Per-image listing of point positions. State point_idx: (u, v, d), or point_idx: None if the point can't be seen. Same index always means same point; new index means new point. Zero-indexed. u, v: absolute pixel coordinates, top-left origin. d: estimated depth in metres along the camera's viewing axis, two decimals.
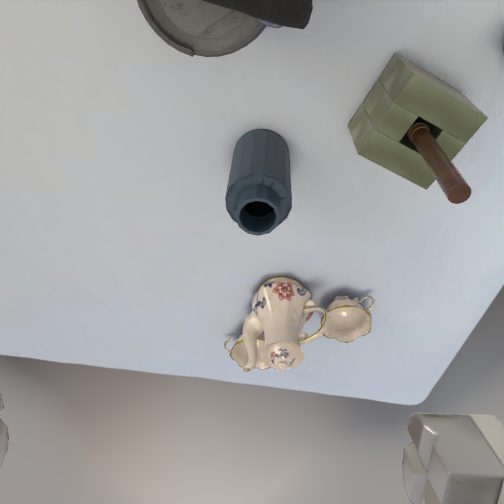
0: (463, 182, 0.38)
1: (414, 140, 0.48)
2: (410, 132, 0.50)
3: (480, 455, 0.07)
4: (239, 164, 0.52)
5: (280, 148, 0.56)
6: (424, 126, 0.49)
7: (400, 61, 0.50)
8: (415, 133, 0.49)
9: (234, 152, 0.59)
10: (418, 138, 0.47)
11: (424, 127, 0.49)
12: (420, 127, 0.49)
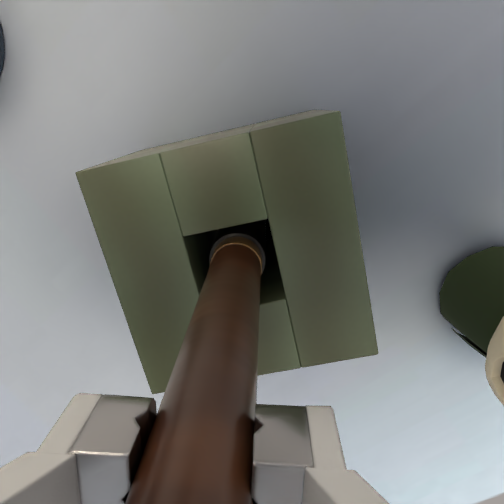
0: None
1: (216, 260, 0.16)
2: (223, 241, 0.18)
3: (294, 445, 0.07)
4: None
5: None
6: (259, 255, 0.18)
7: (317, 110, 0.21)
8: (231, 248, 0.17)
9: None
10: (227, 261, 0.15)
11: (258, 257, 0.18)
12: (251, 248, 0.17)
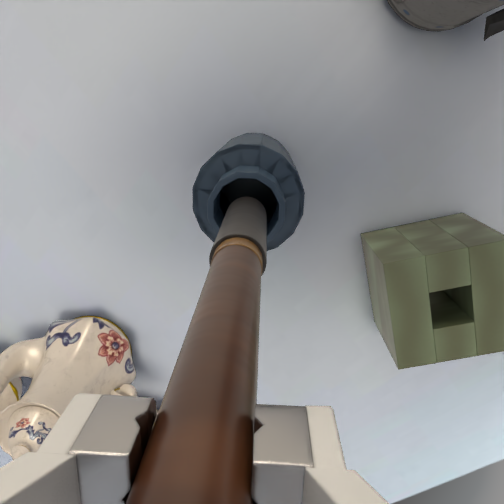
0: None
1: (216, 261, 0.16)
2: (224, 242, 0.18)
3: (294, 445, 0.07)
4: (260, 140, 0.32)
5: None
6: (260, 256, 0.18)
7: (476, 221, 0.40)
8: (231, 249, 0.17)
9: (237, 137, 0.39)
10: (228, 262, 0.15)
11: (259, 258, 0.18)
12: (252, 249, 0.17)
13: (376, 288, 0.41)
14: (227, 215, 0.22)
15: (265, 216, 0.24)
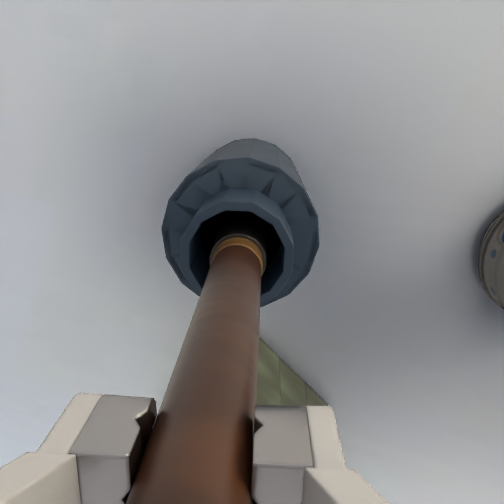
0: None
1: (216, 261, 0.16)
2: (224, 242, 0.18)
3: (294, 445, 0.07)
4: None
5: None
6: (260, 256, 0.18)
7: None
8: (231, 249, 0.17)
9: (282, 153, 0.31)
10: (228, 262, 0.15)
11: (259, 258, 0.18)
12: (252, 249, 0.17)
13: None
14: (227, 215, 0.22)
15: None
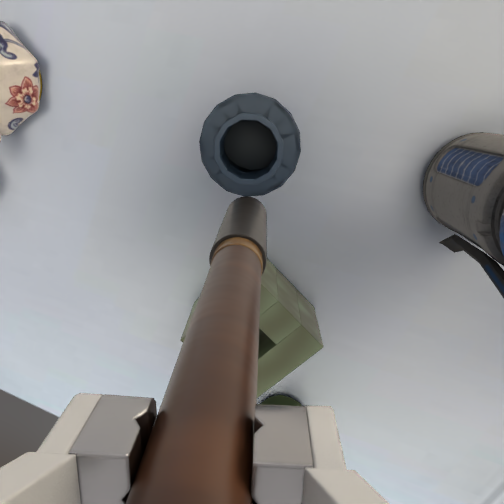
0: None
1: (216, 260, 0.16)
2: (224, 242, 0.18)
3: (294, 445, 0.07)
4: None
5: None
6: (260, 256, 0.18)
7: (316, 319, 0.48)
8: (231, 249, 0.17)
9: None
10: (228, 262, 0.15)
11: (259, 258, 0.18)
12: (252, 249, 0.17)
13: None
14: (227, 215, 0.22)
15: (265, 216, 0.24)
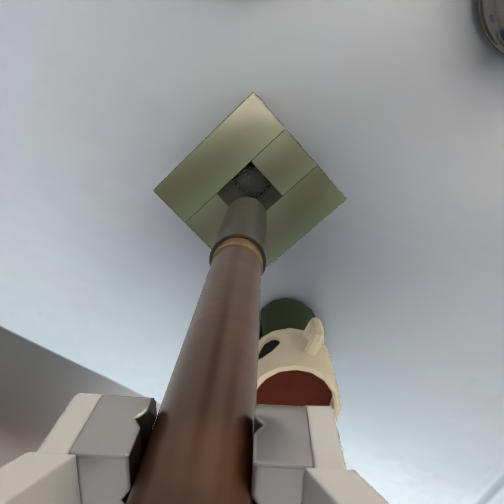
0: None
1: (216, 261, 0.16)
2: (224, 243, 0.18)
3: (294, 445, 0.07)
4: None
5: None
6: (260, 256, 0.18)
7: None
8: (231, 250, 0.17)
9: None
10: (228, 262, 0.15)
11: (259, 258, 0.18)
12: (252, 249, 0.17)
13: None
14: (227, 215, 0.22)
15: (265, 216, 0.24)
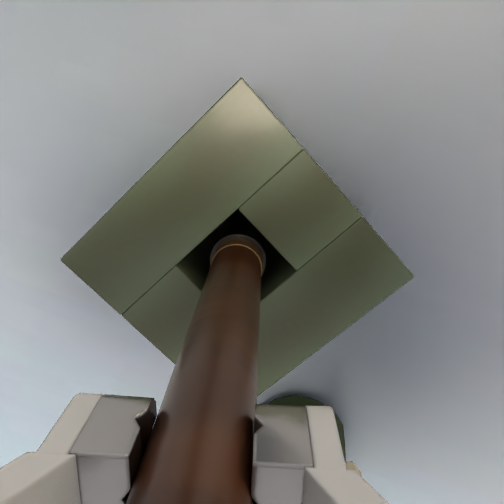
0: None
1: (216, 261, 0.16)
2: (224, 242, 0.18)
3: (294, 445, 0.07)
4: None
5: None
6: (260, 256, 0.18)
7: None
8: (231, 250, 0.17)
9: None
10: (228, 262, 0.15)
11: (259, 258, 0.18)
12: (252, 249, 0.17)
13: None
14: None
15: None
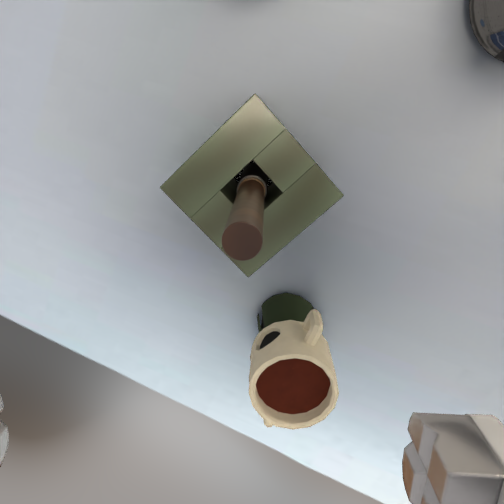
0: (259, 229, 0.21)
1: (242, 185, 0.32)
2: (245, 179, 0.34)
3: (480, 455, 0.07)
4: None
5: None
6: (263, 186, 0.34)
7: None
8: (249, 180, 0.33)
9: None
10: (248, 183, 0.31)
11: (263, 186, 0.34)
12: (259, 181, 0.33)
13: None
14: (244, 170, 0.39)
15: None
